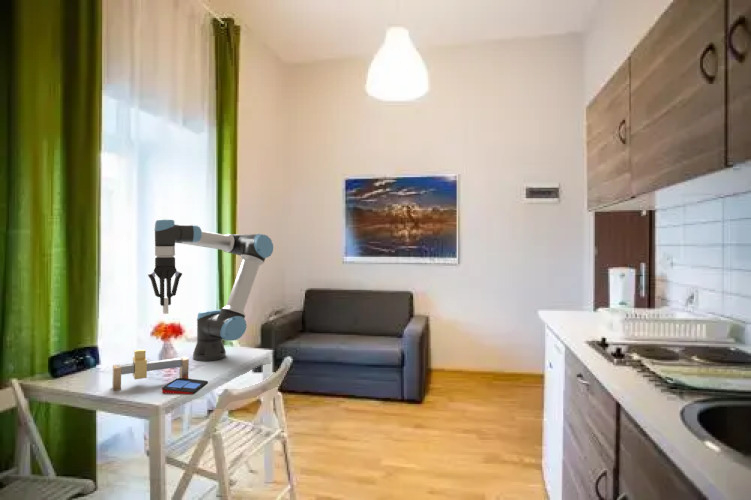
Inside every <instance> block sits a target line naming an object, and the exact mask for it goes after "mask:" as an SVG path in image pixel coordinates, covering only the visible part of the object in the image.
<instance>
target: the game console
mask: <svg viewBox="0 0 751 500" xmlns="http://www.w3.org/2000/svg"><path fill="white" fill-rule="evenodd" d="M208 383H209V381H208V380H204V379H196V378H195V379H194V378H188V379H187V378H179V377H178V378H175V379H173V380H172V381H171V382H169V383H167V384H166V385H164V386H162V388H161V390H162V391H161V392H162V393H163V394H172V395H175V394H176V395H177V394H179V395H181V394H182V395H193V394H195V393H197V392H198V391H200V390H201V389H202V388H203V387H205V386H206V385H207V384H208Z"/></svg>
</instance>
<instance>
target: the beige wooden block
mask: <svg viewBox="0 0 751 500" xmlns="http://www.w3.org/2000/svg"><path fill="white" fill-rule="evenodd" d="M133 353H134V354H133V357H132V364H133V363H134V364H135V373H132V377H133V378H134V380H141V379H147V378H148V377H147V374H148V373H147V372H148V371H147V362H148V360H147V358H146V349H144V348H143V349H135V350H133Z"/></svg>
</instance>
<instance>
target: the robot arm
mask: <svg viewBox="0 0 751 500" xmlns="http://www.w3.org/2000/svg"><path fill="white" fill-rule="evenodd" d="M176 243H177V244H181V245H182V244H183V245H189V246H195V247H201V248H207V249H208V248H209V249H213V250H214V249H215V250H221V251H223V252H224V253H228V254H231V255H237V256H240V258H241V259H242V262H241V264H240V267H239V269H238V272H237V275H236V278H235V281H234V282H233V286H232V287H231V288H232V289H231V291H230V294H229V297H228V299H227V302H226V305H225V306H223V307H221V309H212V310H204V311H199V312H198V314H197V318H196V321H197V322H196V323H197V325H196V326H197V328H196V335H197V337H196V343H195V347H194V349H193V353H192V359H193V360H195V361H202V362H207V361H218V360H222V359H224V358H225V357H226V355H227V353H226V352H227V350H226V348H225V345H224V343H223V340H224V341H237V340H238V339H240V338H242V337H243V336H244V334H245V332H246V330H247V327H248V326H247V322H246V318H245V317H246V313H245V309H246V305H247V303H248V299H249V296H250V294H251V292H252V288H253V286H254V282H255V279H256V277H257V274H258V271H259V268H260V267H261V266H262V265H264V264H265V262H266V258H269V257H270V256H272V254H273V251H274V243H273V240H272V239H271V238H270V237H269V236H268V235H267V234H262V233H257V234H256V233H252V234H251V233H250V234H249V233H247V234H246V233H245V234H243V233H242V234H241V233H240V234H231V233H227V234H222V233H216V232H211V231H204V230H202V228H201V226H199V225H195V224H176V222H175V220H174V219H166V218H164V219H163V218H162V219H156V220H155V222H154V256H155V259H154V269H153V271H152V272H150V273H148V274H147V276H148V278H149V279H150V281H151V286H152V289H153V291H154V295H155V297H157V298H159V304H160V306H161V307H162V313H163V314H164V315H166V314H169V306H171V304H172V297H175V296H176V294H177V291H178V286H179V284H180V283H179V282H180V279H181V277H182V275H183V273H182V272H180V271H178V270H177V267H176V258H175V256H176ZM156 276H157V278H158V279H159V288H158V284H157V282H156V281H157V280H156ZM174 276H175V278H174V281H173V285H172V278H173V277H174ZM165 280H166V296H165ZM223 357H224V358H223ZM221 358H222V359H221Z"/></svg>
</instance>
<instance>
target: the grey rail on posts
mask: <svg viewBox="0 0 751 500" xmlns="http://www.w3.org/2000/svg"><path fill="white" fill-rule="evenodd" d="M189 360H190V359H189V358H188V356H180V357H176V358H168V359H161V360H152V361H147V372H152V371H159V370H168V369H174V368H179V377H178V378H187V379H189V370H190V369H189V365H190V364H189ZM133 373H135V364H134V363H133V362H132V363H126V364H113V365H112V386H111V387H112V390H113V392H115V391H116V392H117V391H121V390H122V375H129V374H133Z"/></svg>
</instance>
